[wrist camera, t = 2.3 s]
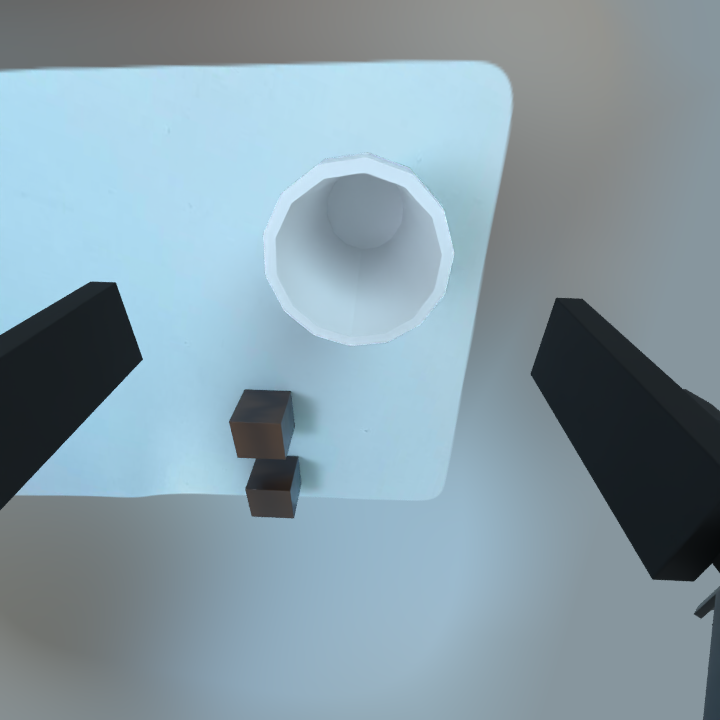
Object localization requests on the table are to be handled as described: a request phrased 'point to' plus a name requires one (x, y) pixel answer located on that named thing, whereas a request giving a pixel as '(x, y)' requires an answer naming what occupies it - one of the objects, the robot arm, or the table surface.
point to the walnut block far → (274, 487)
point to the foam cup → (358, 250)
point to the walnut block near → (263, 424)
